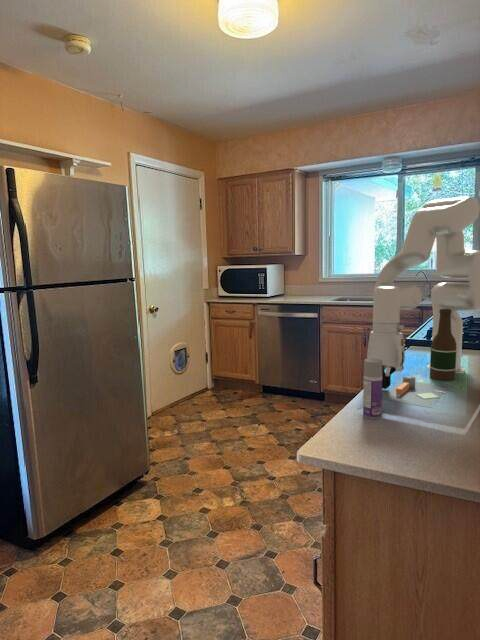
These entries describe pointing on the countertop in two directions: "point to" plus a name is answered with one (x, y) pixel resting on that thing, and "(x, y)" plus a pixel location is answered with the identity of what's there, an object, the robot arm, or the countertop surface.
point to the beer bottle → (443, 350)
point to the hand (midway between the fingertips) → (384, 387)
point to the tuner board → (417, 394)
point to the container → (372, 388)
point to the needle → (406, 385)
